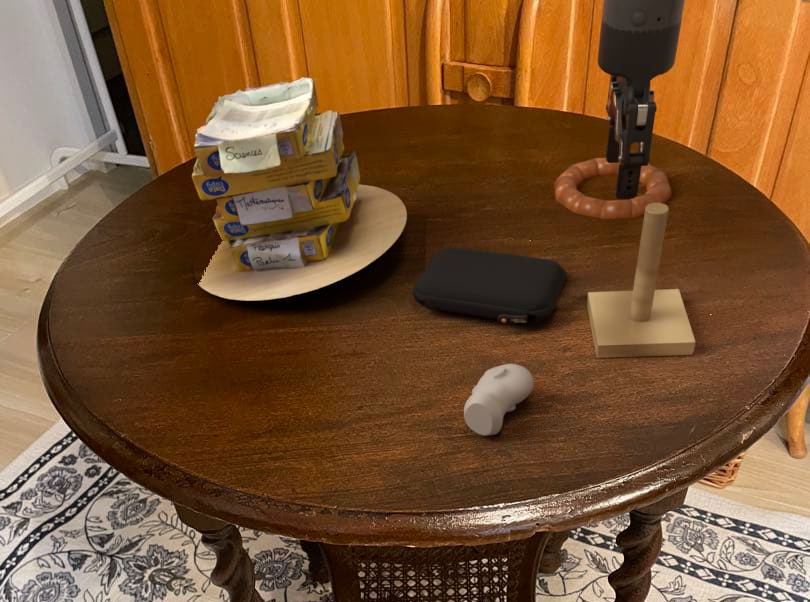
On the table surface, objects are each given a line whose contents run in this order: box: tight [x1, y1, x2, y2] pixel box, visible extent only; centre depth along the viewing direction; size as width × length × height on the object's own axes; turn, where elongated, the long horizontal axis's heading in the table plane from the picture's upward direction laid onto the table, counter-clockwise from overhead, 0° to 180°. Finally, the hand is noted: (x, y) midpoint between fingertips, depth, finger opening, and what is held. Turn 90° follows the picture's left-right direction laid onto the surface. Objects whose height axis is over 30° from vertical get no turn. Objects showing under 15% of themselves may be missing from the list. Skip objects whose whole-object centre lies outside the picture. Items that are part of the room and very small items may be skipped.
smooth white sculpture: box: [463, 363, 534, 436], centre depth 76 cm, size 4×8×5 cm
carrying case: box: [412, 246, 568, 325], centre depth 88 cm, size 11×3×15 cm
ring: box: [553, 157, 673, 220], centre depth 101 cm, size 13×13×3 cm
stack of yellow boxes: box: [191, 77, 408, 302], centre depth 92 cm, size 25×25×17 cm
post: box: [586, 203, 696, 359], centre depth 80 cm, size 9×9×12 cm
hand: (620, 178), depth 94 cm, fingers open, 8 cm apart
